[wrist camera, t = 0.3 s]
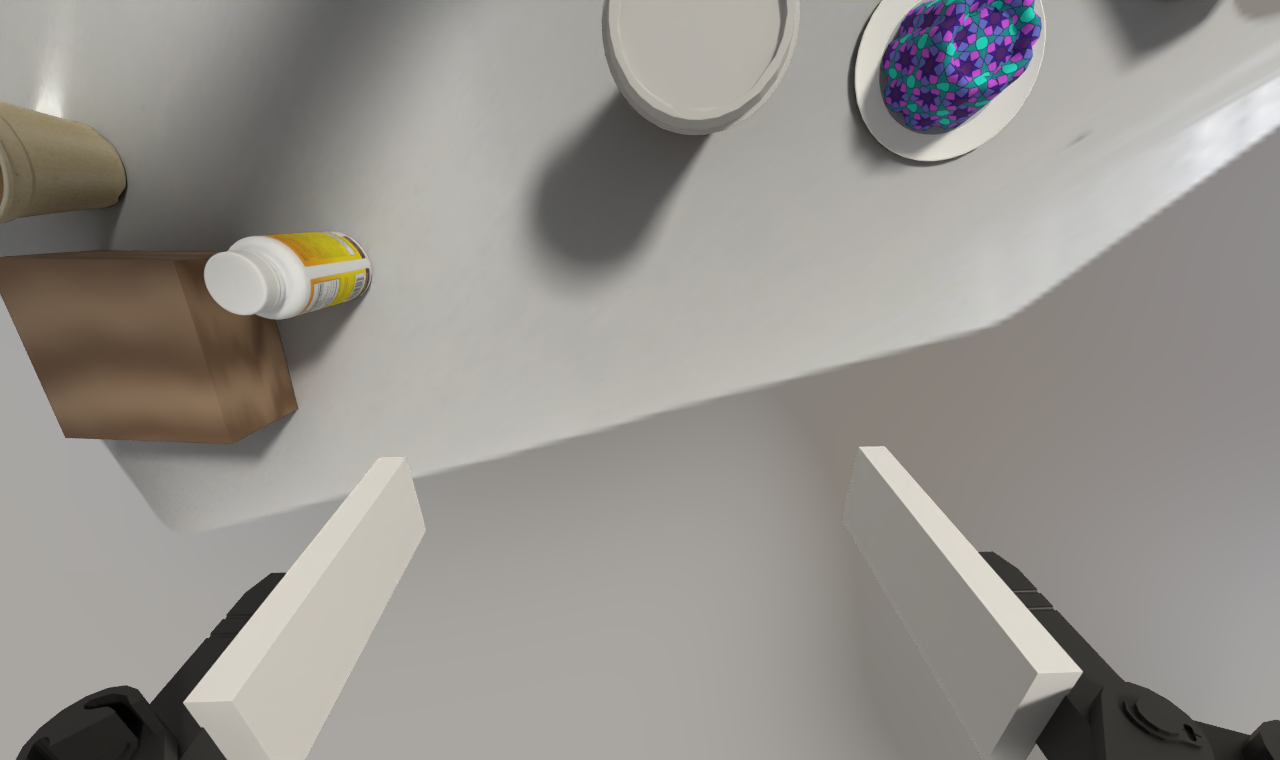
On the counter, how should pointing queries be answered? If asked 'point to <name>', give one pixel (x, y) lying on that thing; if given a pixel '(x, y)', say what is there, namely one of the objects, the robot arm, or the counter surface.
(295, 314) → the supplement bottle
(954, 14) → the pudding
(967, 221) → the counter surface
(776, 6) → the disposable coffee cup
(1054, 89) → the counter surface
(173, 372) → the block
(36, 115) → the flower pot
